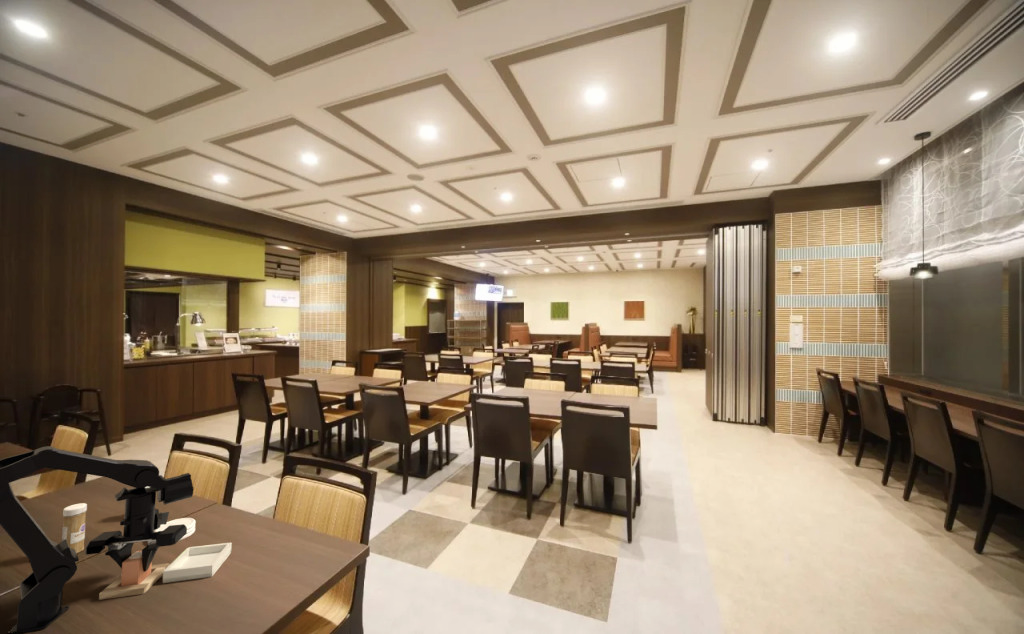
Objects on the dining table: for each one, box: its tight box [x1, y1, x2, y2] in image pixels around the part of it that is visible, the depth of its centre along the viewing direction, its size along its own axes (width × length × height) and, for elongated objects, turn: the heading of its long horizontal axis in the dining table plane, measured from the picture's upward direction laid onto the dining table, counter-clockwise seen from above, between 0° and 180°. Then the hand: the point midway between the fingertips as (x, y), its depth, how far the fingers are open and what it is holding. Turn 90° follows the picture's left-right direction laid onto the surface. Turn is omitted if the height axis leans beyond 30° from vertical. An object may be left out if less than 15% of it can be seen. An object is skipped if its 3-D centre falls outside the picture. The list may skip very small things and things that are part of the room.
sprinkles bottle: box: [61, 502, 88, 554], centre depth 109 cm, size 5×5×14 cm
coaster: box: [154, 517, 197, 542], centre depth 119 cm, size 10×10×4 cm
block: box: [121, 550, 153, 587], centre depth 97 cm, size 5×4×7 cm
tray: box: [162, 542, 233, 584], centre depth 104 cm, size 11×11×3 cm
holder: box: [98, 562, 170, 601], centre depth 97 cm, size 10×9×2 cm
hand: (136, 571), depth 97 cm, fingers closed on block, 3 cm apart
